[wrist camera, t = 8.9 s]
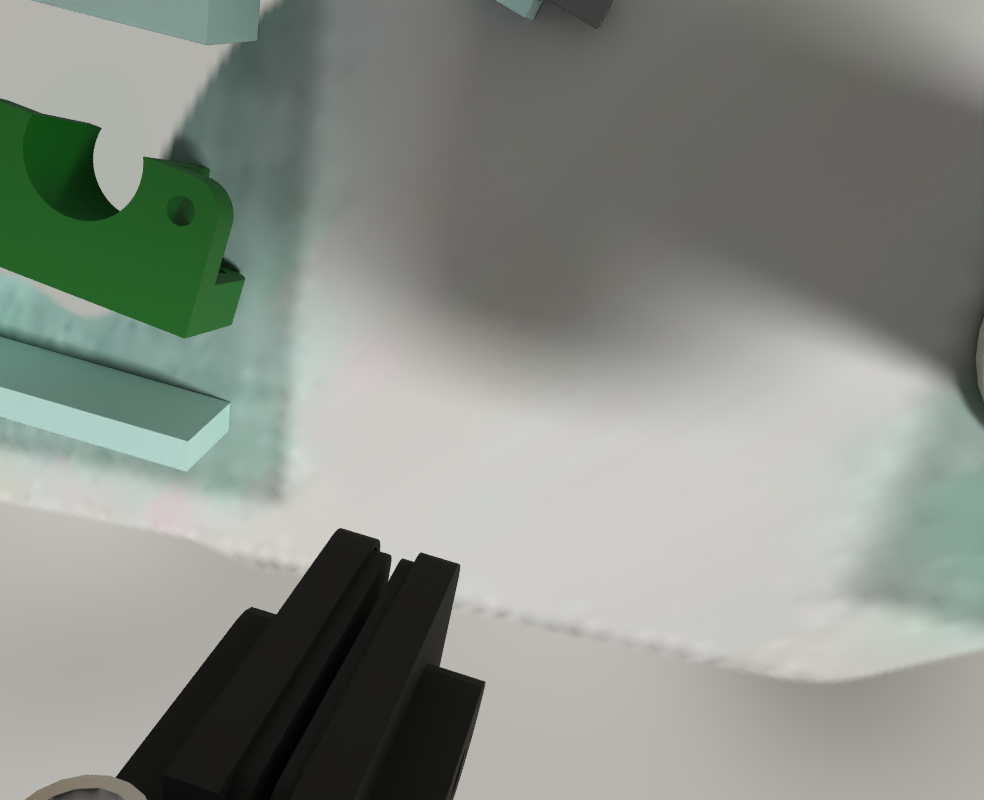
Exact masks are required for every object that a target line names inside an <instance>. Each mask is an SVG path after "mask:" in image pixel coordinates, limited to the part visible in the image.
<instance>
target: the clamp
mask: <svg viewBox="0 0 984 800" xmlns="http://www.w3.org/2000/svg"><path fill="white" fill-rule="evenodd" d="M101 129H102V128H100V127H98V126H95V125H93V124H90V123H85V122H80V121H75V120H70V119H66V118H61V117H56V116H51V115H46V114H42V113H39V112H36V111H34V110H31V109H29V108H26V107H24V106H21V105H18V104H16V103H13V102H11V101H7V100H4V99H0V267H2V268H4V269H7V270H9V271H12V272H14V273H17V274H20V275H22V276H25V277H27V278H30V279H33V280H35V281H38V282H40V283H43V284H45V285H48V286H51V287H53V288H56V289H58V290H61V291H64V292H66V293H69V294H72V295H74V296H76V297H79V298H82V299H84V300H87V301H89V302H92V303H94V304H97V305H100V306H102V307H105V308H107V309H110V310H113V311H115V312H118V313H120V314H123V315H125V316H128V317H131V318H133V319H136V320H138V321H141V322H144V323H146V324H149V325H151V326H154V327H156V328H159V329H162V330H164V331H167V332H169V333H172V334H175V335H177V336H180V337H182V338H188V337H192V336H195V335H199V334H202V333H205V332H209V331H212V330H216V329H219V328H222V327H226V326H229V325H231V324H232V322H233V318H234V315H235V311H236V308H237V304H238V301H239V298H240V294H241V291H242V287H243V284H244V281H245V277H244V276H243V275H241V274H240V273H238V272H236V271H233V270H231V269H228V268H226V267H223V266H220V265H221V261H222V258H223V254H224V251H225V247H226V244H227V240H228V237H229V233H230V230H231V226H232V222H233V206H232V202H231V200H230V197H229V195H228V194H227V192H226V191H225V189H224V188H223V187H222V186H221V185H220V184H219V183H218V182H216V181H215V180H213V179H211V178H209V172H210V170H209V169H207V168H204V167H202V166H199V165H194V164H188V163H181V162H175V161H169V160H162V159H156V158H149V157H143V160H144V164H143V174H142V179H141V182H140V185H139V188H138V190H137V192H136V194H135V196H134V197H133V199H132V200H131V202H129V204H128V205H127V206H126V207H125V208H124V209H122V210H121V211H119V210H117V209H116V208H115V207H114V206H113V205H111V203H110V202H109V201H108V200H107V199H106V197H105V196H104V194H103V193H102V191H101V189H100V187H99V185H98V183H97V180H96V177H95V173H94V167H93V152H94V151H93V150H94V146H95V142H96V139H97V137H98V134H99V132H100V130H101Z"/></svg>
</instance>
